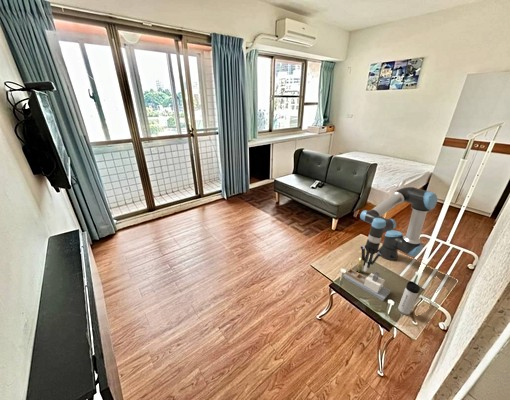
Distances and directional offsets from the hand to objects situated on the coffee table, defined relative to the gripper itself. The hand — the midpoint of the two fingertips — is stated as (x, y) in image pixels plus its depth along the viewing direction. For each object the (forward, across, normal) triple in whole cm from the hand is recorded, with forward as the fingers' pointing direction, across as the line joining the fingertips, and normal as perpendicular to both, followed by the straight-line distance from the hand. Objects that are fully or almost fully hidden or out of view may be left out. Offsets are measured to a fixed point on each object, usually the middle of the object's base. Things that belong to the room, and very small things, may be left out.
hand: (365, 270), depth 151 cm
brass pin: (+11, -7, +11) cm, 17 cm away
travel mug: (+11, +28, -4) cm, 30 cm away
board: (+11, +3, 0) cm, 11 cm away
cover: (+8, +7, 0) cm, 11 cm away
